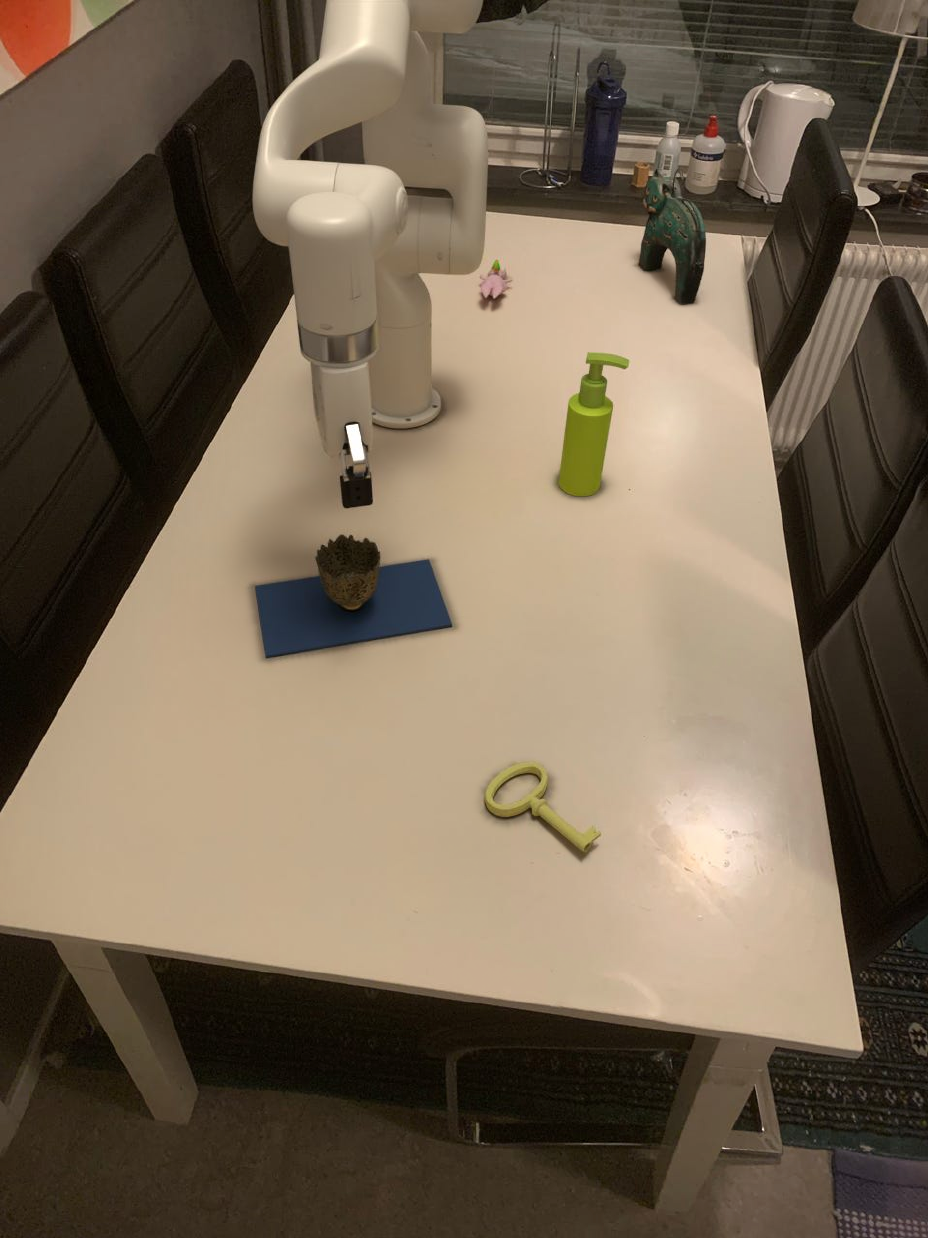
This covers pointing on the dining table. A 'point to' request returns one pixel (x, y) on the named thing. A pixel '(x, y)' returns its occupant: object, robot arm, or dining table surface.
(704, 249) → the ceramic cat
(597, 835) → the key
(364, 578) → the dark brown rounded piece
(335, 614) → the cloth
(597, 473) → the soap dispenser
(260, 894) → the dining table surface
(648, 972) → the dining table surface
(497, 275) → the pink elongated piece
